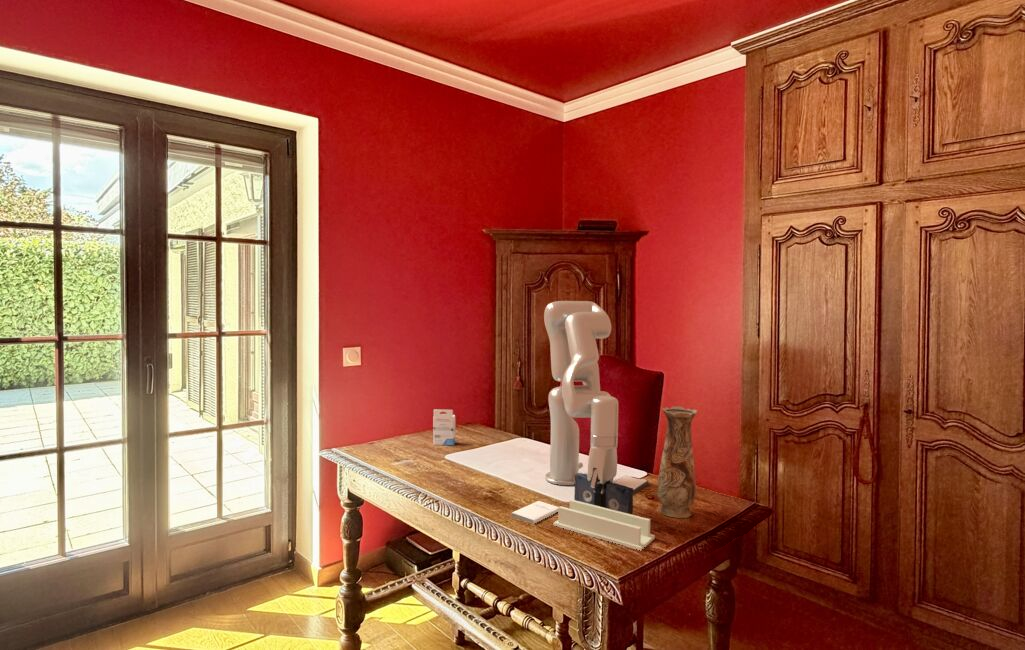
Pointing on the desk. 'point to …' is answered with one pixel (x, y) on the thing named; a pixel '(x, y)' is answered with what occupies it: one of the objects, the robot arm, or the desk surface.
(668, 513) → the vase
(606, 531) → the rack
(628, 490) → the vhs cassette tape
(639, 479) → the phone case
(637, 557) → the desk surface
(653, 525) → the desk surface
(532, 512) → the external hard drive
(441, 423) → the ink box
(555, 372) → the robot arm
